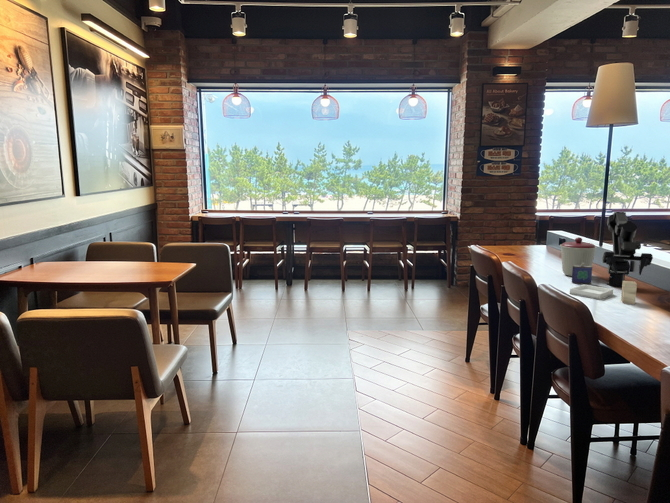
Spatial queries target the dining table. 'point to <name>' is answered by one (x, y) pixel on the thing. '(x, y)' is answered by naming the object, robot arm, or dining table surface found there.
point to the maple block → (629, 292)
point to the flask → (582, 274)
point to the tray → (591, 291)
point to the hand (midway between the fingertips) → (628, 273)
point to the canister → (576, 254)
